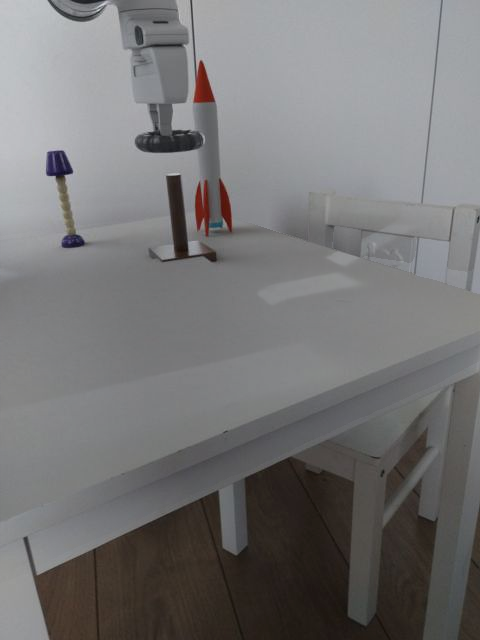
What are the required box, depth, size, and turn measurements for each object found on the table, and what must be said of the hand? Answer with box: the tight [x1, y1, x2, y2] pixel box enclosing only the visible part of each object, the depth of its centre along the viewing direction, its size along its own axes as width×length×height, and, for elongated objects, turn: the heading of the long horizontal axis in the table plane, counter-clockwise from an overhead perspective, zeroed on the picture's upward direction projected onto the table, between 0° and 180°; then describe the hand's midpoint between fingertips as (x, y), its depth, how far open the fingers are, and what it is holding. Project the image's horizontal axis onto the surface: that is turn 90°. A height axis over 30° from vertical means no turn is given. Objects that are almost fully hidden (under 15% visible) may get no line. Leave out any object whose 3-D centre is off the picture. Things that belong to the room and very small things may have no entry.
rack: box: [148, 172, 218, 263], centre depth 92 cm, size 9×9×14 cm
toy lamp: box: [45, 149, 86, 248], centre depth 104 cm, size 5×5×17 cm
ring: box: [134, 129, 205, 154], centre depth 87 cm, size 10×10×2 cm
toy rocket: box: [192, 59, 233, 237], centre depth 105 cm, size 6×6×30 cm
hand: (162, 135), depth 90 cm, fingers closed on ring, 2 cm apart
